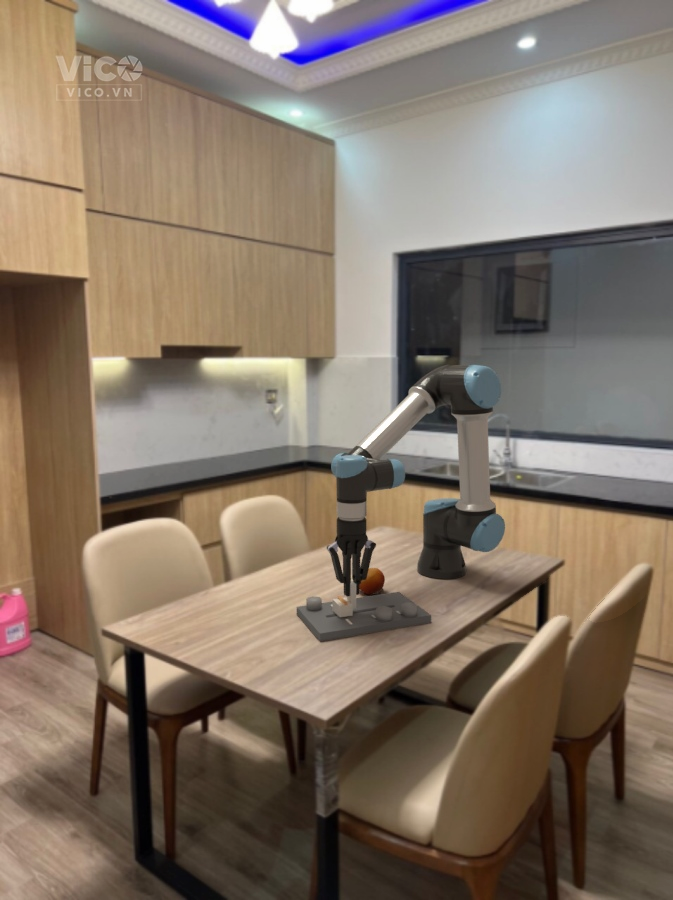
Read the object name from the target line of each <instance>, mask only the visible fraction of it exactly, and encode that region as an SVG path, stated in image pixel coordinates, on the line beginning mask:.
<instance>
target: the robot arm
mask: <svg viewBox="0 0 673 900" xmlns="http://www.w3.org/2000/svg"><path fill="white" fill-rule="evenodd" d="M501 394H502V383H501V379H500V378H499V376H498V375H497V373H496V372H495V371H494V369H493V368H491V367H489V366H485V365H479V364H457V365H456V364H454V365H453V364H446V365H445V364H444V365H441V366H439V367H437V368H434V369H433V370H431V371H430V372H428V373H427V374H425V375H424V376H422V377H421V378H420V379H418V381H416V383H414V384H413V385H412V386H411V387H410V388H409V390H408V395H407V396H406V397H405V398H404V399H403V400H402V401H401V402H400V403H399V404H398V405H397V406H395V407H394V408H393V409H392V410H391V411H390V412H389V413H388V414H387V415H386V416H385V417H384V418H383V419H382V420H381V421H380V422H379V423H378V424H377V425H376V426H375V427H374V428H372V430H370V432H369V433H368V434H367V435H365V436H364V438H362V440H360V441H359V442H358V443H357V444H356V445H355V446H354V447H353V448H352V449H351V450H350V451H349V452H340V453H338V454H336V455H335V456H334V457H333V458H332V460H331V464H330V466H331V467H330V468H331V469H330V470H331V473H332V475H333V476H334V477H335V478H336V480H335V481H336V486H335V487H336V516H337V518H336V537H335V539H334V542H333V543H332V544H330V545H329V544H328V545H327V546H326V550H327V552H328V553H329V554H330V558H331V562H332V563H331V564H332V567H333V569H334V570H333V571H334V575H335V578H336V580H337V581H338V582H339V583H340V584H343V594H344V596H345V597H346V599H347V600H349V601H350V602H351V603H352V604H353V609H356V598H357V596H359V595H360V589H359V584H361V581H362V580H366V578H367V574H368V570H369V568H370V564H371V560H372V555H373V552H374V550H375V548H376V547H377V543H376V542H374V541H373V540H370V539H369V537H368V534H367V518H366V517H367V510H368V509H367V507H368V506H367V502H368V501H367V496H368V492H369V493H370V492H374V491H375V492H376V491H382V490H383V491H384V490H392V489H395V488H398V487H401V486H402V485H403V483H404V482H405V480H406V479H405V478H406V469H405V466H404V464H403V463H402V461H400V460H399V459H396V458H386V459H382V458H384V457H385V455H386V454H387V453H388V452H390V450H391V449H393V447H394V446H396V444H398V443H399V441H401V440H402V438H404V437H405V435H406V434H407V433H409V432H410V431H411V429H413V428H414V426H415V425H416V424H418V423H419V421H421V420H422V419H423V418H424V417H425V416H426V415H427V414H432V413H433V412H435V411H436V410H437V409H438V408H440V407H442V406H450V411H451V413H450V414H451V415H452V416H453V417H454V418H455V419H456V425H457V426H456V427H457V429H456V430H457V448H458V449H457V451H458V473H459V474H458V475H459V476H458V477H459V498H452V497H451V498H449V497H448V498H435V499H430V500H427V501H426V502H425V503H424V505H423V513H422V515H423V516H422V517H423V519H422V521H423V522H422V523H423V524H422V525H423V526H422V530H423V531H422V532H423V535H422V536H423V537H422V539H423V541H422V543H423V545H422V549H421V552H420V555H419V558H418V561H417V566H416V567H417V569H416V570H417V572H418V574H420V575H421V576H424V577H427V578H430V579H438V580H440V579H443V580H449V579H457V578H460V577H463V576H465V575H466V573H467V564H466V562H465V558H464V555H463V552H462V549H461V548H462V547H464V548H467V549H470V550H472V551H475V552H480V553H481V552H482V553H488V552H491V551H493V550H495V549H496V548H497V547H498V546H499V545H500V543H501V541H502V540H503V538H504V535H505V532H506V522H505V520H504V518H503V516H502V515H501V514H498V513H497V504H496V502H494V501H493V500H492V499H491V486H490V485H491V481H490V480H491V479H490V457H489V456H490V455H489V454H490V452H489V451H490V450H489V421H488V420H489V417H490V416H491V415H492V414H493V412H494V407H495V406H496V405H497V404H498V403H499V401H500V398H501ZM338 548H339V549H340V551H341V553H342V565H341V562H340V557H339V554H338V552H339V549H338ZM363 548H364V549H363ZM362 550H363V553H362ZM362 554H363V555H362ZM361 557H362V559H361Z"/></svg>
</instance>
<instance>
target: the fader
mask: <svg viewBox="0 0 673 900" xmlns="http://www.w3.org/2000/svg"><path fill="white" fill-rule="evenodd" d="M332 602H333V611H334V612H335V613H336V614H337V615H338V616H339V617H347V616H353V604H352V603H351V602H350V601H349V600H347V597H342V596H341V595H338V596H337V598H332Z"/></svg>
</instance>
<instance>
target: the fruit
mask: <svg viewBox="0 0 673 900" xmlns="http://www.w3.org/2000/svg"><path fill="white" fill-rule="evenodd" d="M385 580H386V579H385V574H384V573H383V571H381V570H380V569H379V568H378V567H369V570H368V574H367V578H366V580H362V581H361V584H359V591H361V593H363V594H366V595H368V596H371V595H380V594H381V591H384V586H385Z"/></svg>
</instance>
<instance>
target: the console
mask: <svg viewBox="0 0 673 900" xmlns="http://www.w3.org/2000/svg"><path fill="white" fill-rule="evenodd" d="M305 602H306V605H300V606H296V615H297V616H298V617H299V618H300V621H302V622H303V623H304V625H305V626H306V627H307V628H308V629H309V631H311V633H312V634H313V635H314V637H315V638H316V639H317V640H318V642H325V641H330V640H331V641H332V640H337V639H342V638H343V639H344V638H347V637H348V638H350V637H355V636H361V635H367V634H371V633H373V634H374V633H379V632H383V631H385V632H386V631H389V630H396V629H401V628H407V627H413V626H419V625H424V624H432V614H430V613H429V612H428V611H426V610H425V609H424V608H423V607H420V606H419V605H418V604H417V603H415V602H414V601H413V600H411V599H410V598H409V597H407V596H405V595H404V594H403V593H402V592H400V591H395V592H388V593H382V594H381V593H380V594H373V595H368V596H362V597H360V596H359V597H356V609H353V616H347V617H339V616H338V615H337V614H336V613H335V612H334V611H333V601H328V602H327V601H326V602H323V599H322V598H321V597H320V596H309V597H306V601H305Z"/></svg>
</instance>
